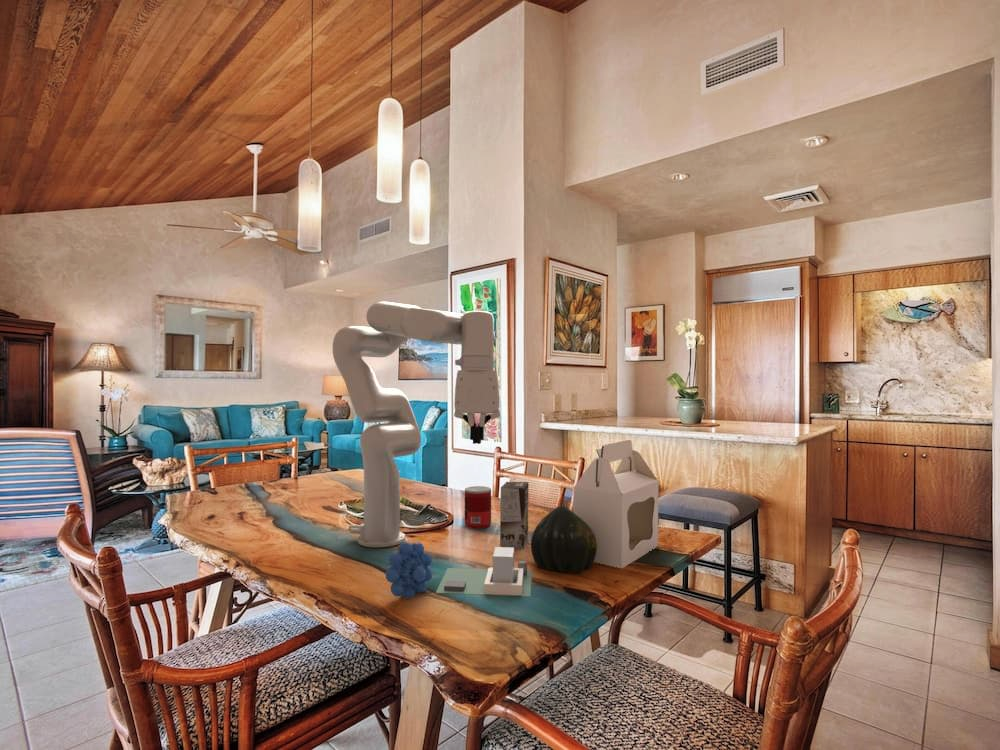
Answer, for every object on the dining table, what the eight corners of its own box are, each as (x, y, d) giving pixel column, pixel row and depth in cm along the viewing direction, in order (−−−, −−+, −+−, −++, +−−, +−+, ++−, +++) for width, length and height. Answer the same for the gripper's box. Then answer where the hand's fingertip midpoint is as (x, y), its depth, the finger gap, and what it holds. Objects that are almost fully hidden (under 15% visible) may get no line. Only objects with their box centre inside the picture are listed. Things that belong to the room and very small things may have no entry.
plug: (492, 590, 109) (492, 556, 109) (495, 577, 116) (496, 544, 116) (512, 591, 109) (512, 556, 109) (514, 577, 116) (514, 545, 116)
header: (484, 594, 107) (484, 584, 107) (488, 576, 117) (488, 567, 117) (521, 595, 107) (521, 585, 107) (523, 577, 116) (523, 568, 116)
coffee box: (523, 551, 137) (524, 488, 138) (499, 549, 139) (499, 487, 139) (529, 540, 146) (529, 481, 146) (505, 539, 148) (506, 480, 148)
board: (435, 598, 108) (435, 580, 108) (447, 573, 122) (447, 556, 122) (530, 602, 106) (530, 583, 106) (531, 576, 120) (531, 559, 120)
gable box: (613, 537, 151) (613, 436, 151) (658, 546, 142) (659, 440, 142) (572, 557, 133) (572, 444, 133) (621, 569, 125) (622, 449, 125)
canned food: (495, 526, 161) (496, 489, 161) (473, 530, 156) (473, 492, 156) (482, 520, 167) (482, 485, 167) (459, 524, 162) (460, 487, 162)
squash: (565, 564, 112) (589, 502, 120) (510, 551, 122) (535, 495, 130) (593, 594, 120) (613, 534, 128) (539, 580, 130) (561, 525, 138)
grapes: (401, 616, 100) (401, 552, 100) (378, 606, 104) (378, 544, 104) (446, 597, 109) (446, 537, 109) (423, 588, 113) (423, 531, 113)
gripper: (442, 364, 122) (442, 444, 122) (508, 364, 121) (507, 445, 121) (448, 364, 130) (448, 440, 130) (510, 365, 129) (510, 441, 129)
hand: (477, 443), depth 125 cm, fingers closed
